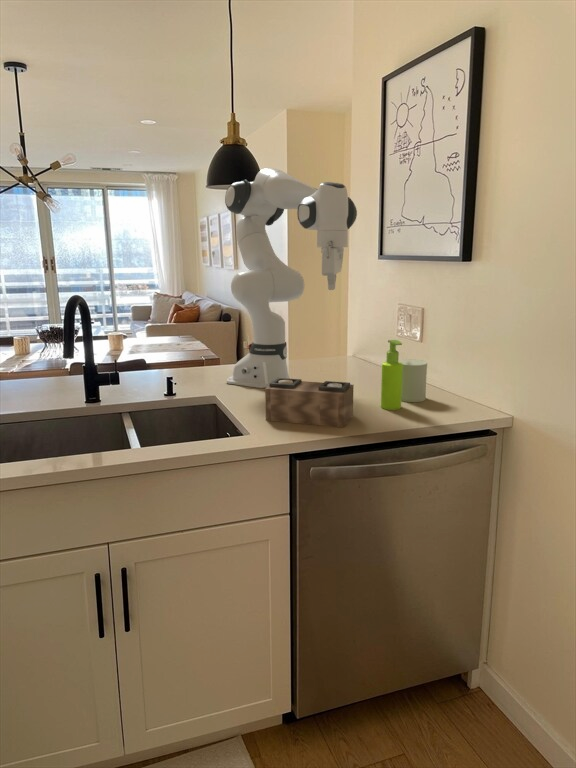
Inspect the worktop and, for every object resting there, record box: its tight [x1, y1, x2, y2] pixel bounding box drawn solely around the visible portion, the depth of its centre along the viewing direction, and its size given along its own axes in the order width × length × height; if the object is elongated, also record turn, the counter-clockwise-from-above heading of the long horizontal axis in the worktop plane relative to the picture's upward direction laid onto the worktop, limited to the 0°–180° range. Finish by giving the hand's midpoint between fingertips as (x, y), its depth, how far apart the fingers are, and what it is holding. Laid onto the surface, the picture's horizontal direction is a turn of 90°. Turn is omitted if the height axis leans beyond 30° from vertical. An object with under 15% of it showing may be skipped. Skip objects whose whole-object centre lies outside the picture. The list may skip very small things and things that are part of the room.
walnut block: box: [264, 378, 354, 428], centre depth 155 cm, size 22×11×10 cm, turn 71°
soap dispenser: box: [380, 339, 403, 411], centre depth 163 cm, size 6×7×20 cm
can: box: [398, 358, 428, 403], centre depth 174 cm, size 9×9×12 cm
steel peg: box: [327, 383, 342, 387], centre depth 152 cm, size 4×4×8 cm
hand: (331, 289), depth 166 cm, fingers closed
